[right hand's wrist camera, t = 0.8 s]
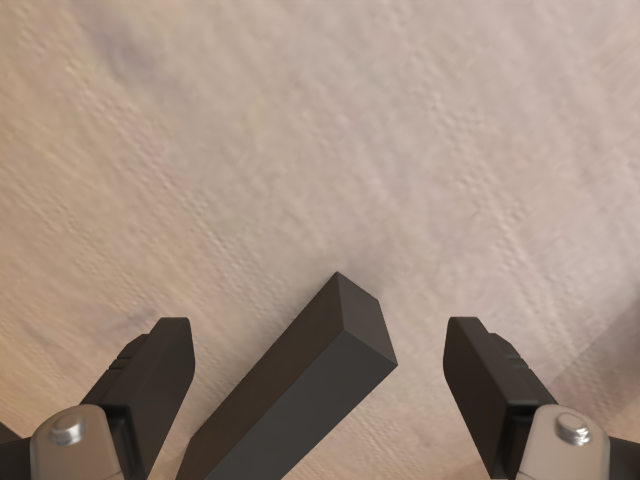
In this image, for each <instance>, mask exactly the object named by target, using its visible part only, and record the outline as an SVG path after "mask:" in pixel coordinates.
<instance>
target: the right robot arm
mask: <svg viewBox="0 0 640 480" xmlns="http://www.w3.org/2000/svg"><path fill="white" fill-rule="evenodd" d="M443 370H444V375H445V379H446V381H447V383H448V386H449V388H450V390H451V392H452V394H453V397H454V399H455V401H456V403H457V405H458V408H459V410H460V412H461V414H462V416H463V419H464V421H465V423H466V425H467V427H468V430H469V432H470V434H471V436H472V438H473V441H474V443H475V445H476V447H477V450H478V452H479V454H480V456H481V458H482V461H483V463H484V465H485V467H486V469H487V472H488V474H489V476H490V478H491V479H508V480H640V444H639V443H635V442H631V441H627V440H623V439H618V438H614V437H610V436H608V435H607V434H606V432H605V431H604V429H603V428H602V427H601V426H600V425H599V424H598V423H597V422H596V421H594V420H593V419H592V418H590V417H589V416H587V415H586V414H584V413H582V412H580V411H578V410H575V409H573V408H570V407H567V406H563V405H559V404H558V403H557V401H556V400H555V399H554V398H553V396H552V395H551V394H550V393H549V391H548V390H547V389H546V388H545V386H544V385H543V384H542V383H541V381H540V380H539V379H538V377H537V376H536V375H535V374H534V372H533V371H532V370H531V369H529V368H528V365H527V364H526V362H525V361H524V360H523V359H522V358H520V355H519V354H518V352H517V351H516V350H515V348H514V347H513V346H512V345H511V344H510V343H509V342H508V341H506V340H505V339H503V338H502V337H500V336H499V335H497V334H496V333H489V332H488V331H487V330H486V328H485V327H484V326H483V324H482V323H481V322H480V320H479V319H478V318H477V317H450V319H449V321H448V326H447V334H446V341H445V348H444V356H443ZM194 372H195V356H194V348H193V341H192V334H191V327H190V322H189V319H188V318H186V317H162V318H160V319H159V321H158V322H157V323H156V325H155V326H154V327H153V329H152V330H151V331H150V333H149V334H141V335H140V336H139V337H137V338H136V339H134V340H133V341H131V342H130V343H128V344H127V345H126V346H125V347H124V349H123V350H122V351H121V352H120V354H119V355H118V356H117V359H115V360H114V361H113V363H112V364H111V365H110V366H109V370H106V371H105V373H104V374H103V375H102V376H101V378H100V379H99V380H98V381H97V383H96V384H95V385H94V386H93V388H92V389H91V390H90V391H89V393H88V394H87V395H86V396H85V398H84V399H83V400H82V401H81V403H80V404H79V405H77V406H73V407H70V408H67V409H65V410H62V411H60V412H58V413H56V414H54V415H53V416H51V417H50V418H48V419H47V420H46V421H44V422H43V423H42V424H41V425H40V426H39V427H38V428H37V429H36V431H35V432H34V434H33V435H32V436H31V437H28V438H24V439H20V440H16V441H12V442H8V443H3V444H0V480H147V478H148V476H149V474H150V471H151V469H152V467H153V465H154V463H155V461H156V458H157V456H158V454H159V452H160V450H161V447H162V445H163V443H164V441H165V439H166V437H167V434H168V432H169V430H170V428H171V426H172V424H173V421H174V419H175V417H176V415H177V413H178V411H179V408H180V406H181V404H182V402H183V400H184V397H185V395H186V393H187V391H188V389H189V387H190V384H191V382H192V380H193V376H194Z"/></svg>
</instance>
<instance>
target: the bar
mask: <svg viewBox="0 0 640 480" xmlns="http://www.w3.org/2000/svg"><path fill="white" fill-rule="evenodd" d="M397 366H398V363H397V360H396V356H395V353H394V350H393V347H392V343H391V340H390V337H389V334H388V330H387V327H386V324H385V321H384V318H383V314H382V311H381V308H380V305H379V301H378V300H377V299H375V298H374V297H373V296H371V295H370V294H368V293H367V292H366V291H364V290H363V289H361V288H360V287H359V286H357V285H356V284H354V283H353V282H352V281H350V280H349V279H347V278H346V277H345V276H343V275H342V274H340V273H339V272H338V271H337V272H336V273H335V274H334V275H333V276H332V278H331V279H330V280H329V281H328V282H327V283H326V284H325V286H324V287H323V288H322V289H321V290H320V291H319V293H318V294H317V295H316V296H315V297H314V298H313V299H312V301H311V302H310V303H309V304H308V305H307V306H306V307H305V309H304V310H303V311H302V312H301V313H300V314H299V315H298V317H297V318H296V319H295V320H294V321H293V322H292V323H291V325H290V326H289V327H288V328H287V329H286V330H285V332H284V333H283V334H282V335H281V336H280V337H279V338H278V340H277V341H276V342H275V343H274V344H273V345H272V346H271V348H270V349H269V350H268V351H267V352H266V353H265V354H264V356H263V357H262V358H261V359H260V360H259V361H258V362H257V364H256V365H255V366H254V367H253V368H252V369H251V371H250V372H249V373H248V374H247V375H246V376H245V377H244V379H243V380H242V381H241V382H240V383H239V384H238V385H237V387H236V388H235V389H234V390H233V391H232V392H231V393H230V395H229V396H228V397H227V398H226V399H225V400H224V401H223V403H222V404H221V405H220V406H219V407H218V408H217V410H216V411H215V412H214V413H213V414H212V415H211V416H210V418H209V419H208V420H207V421H206V422H205V423H204V424H203V426H202V427H201V428H200V429H199V430H198V431H197V432H196V434H195V435H194V436H193V437H192V438H191V439H190V442H189V444H188V447H187V450H186V452H185V455H184V458H183V460H182V463H181V466H180V468H179V471H178V474H177V476H176V479H175V480H281V479H282V478H283V477H284V476H285V475H286V474H287V473H288V472H289V471H290V470H291V469H292V468H293V467H294V466H295V465H296V464H297V463H298V462H299V461H300V460H301V459H302V458H303V457H304V456H305V455H306V454H307V453H308V452H310V451H311V450H312V449H313V448H314V447H315V446H316V445H317V444H318V443H319V442H320V441H321V440H322V439H323V438H324V437H325V436H326V435H327V434H328V433H329V432H330V431H331V430H332V429H333V428H334V427H335V426H336V425H337V424H338V423H339V422H340V421H341V420H342V419H343V418H344V417H346V416H347V415H348V414H349V413H350V412H351V411H352V410H353V409H354V408H355V407H356V406H357V405H358V404H359V403H360V402H361V401H362V400H363V399H364V398H365V397H366V396H367V395H368V394H369V393H370V392H371V391H372V390H373V389H374V388H375V387H376V386H377V385H378V384H379V383H380V382H382V381H383V380H384V379H385V378H386V377H387V376H388V375H389V374H390V373H391V372H392V371H393V370H394V369H395V368H396V367H397Z"/></svg>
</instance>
